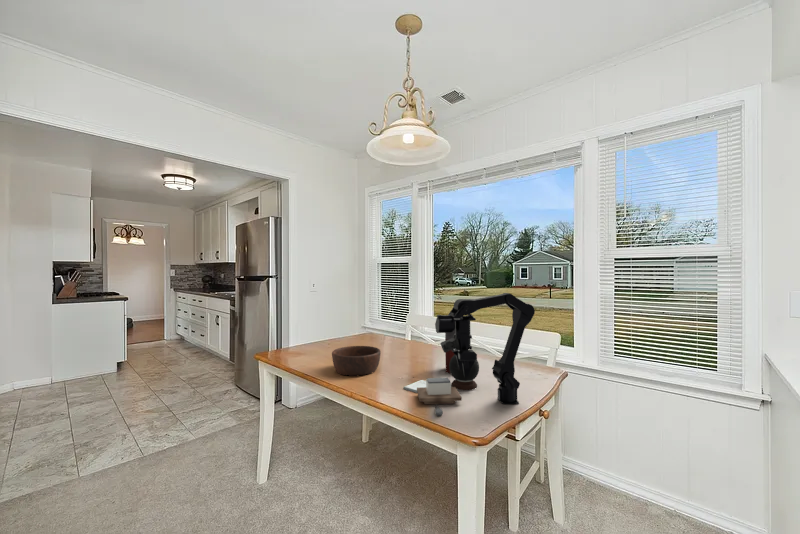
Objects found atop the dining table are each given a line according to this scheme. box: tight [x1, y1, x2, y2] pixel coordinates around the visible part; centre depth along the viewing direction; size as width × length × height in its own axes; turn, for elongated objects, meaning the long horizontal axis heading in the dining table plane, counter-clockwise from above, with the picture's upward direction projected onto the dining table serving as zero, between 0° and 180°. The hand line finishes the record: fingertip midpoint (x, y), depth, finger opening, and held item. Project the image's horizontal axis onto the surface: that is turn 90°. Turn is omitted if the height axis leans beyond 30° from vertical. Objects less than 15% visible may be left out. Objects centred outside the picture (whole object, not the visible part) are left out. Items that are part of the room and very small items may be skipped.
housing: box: [425, 377, 452, 395], centre depth 137 cm, size 9×5×5 cm, turn 94°
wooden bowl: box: [331, 345, 382, 377], centre depth 179 cm, size 25×25×10 cm
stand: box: [416, 386, 462, 405], centre depth 137 cm, size 16×12×3 cm
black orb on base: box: [449, 355, 480, 391], centre depth 154 cm, size 13×13×15 cm
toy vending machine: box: [444, 318, 455, 374], centre depth 178 cm, size 9×11×28 cm
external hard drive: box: [403, 379, 426, 394], centre depth 152 cm, size 2×8×12 cm
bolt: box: [434, 404, 444, 417], centre depth 125 cm, size 6×3×3 cm, turn 2°
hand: (463, 372), depth 133 cm, fingers open, 9 cm apart
